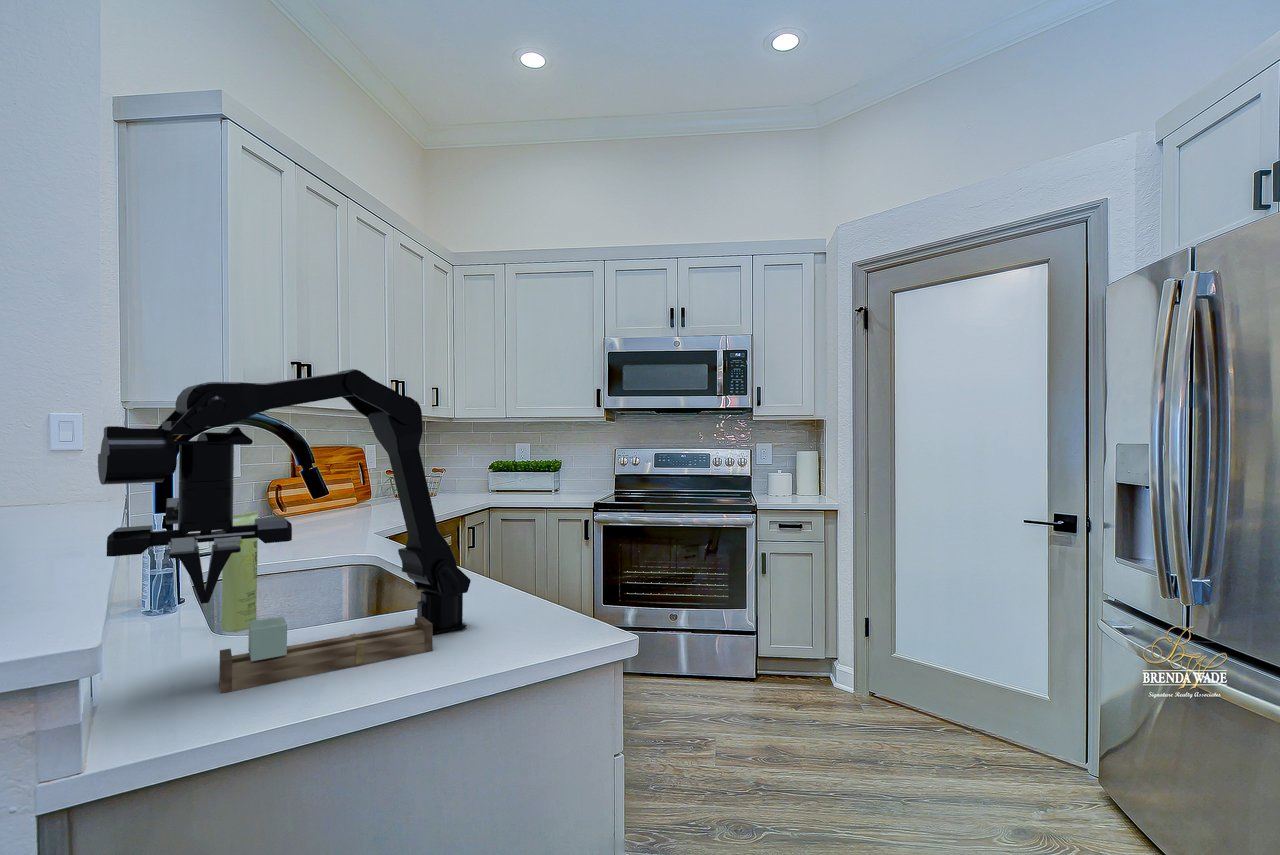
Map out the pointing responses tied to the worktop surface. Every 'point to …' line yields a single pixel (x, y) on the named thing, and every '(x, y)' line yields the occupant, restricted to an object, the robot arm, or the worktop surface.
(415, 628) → the rail
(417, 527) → the robot arm
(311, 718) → the worktop surface
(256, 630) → the block
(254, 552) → the tube
